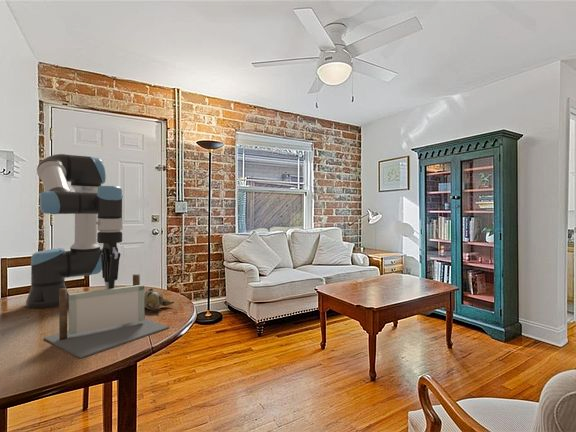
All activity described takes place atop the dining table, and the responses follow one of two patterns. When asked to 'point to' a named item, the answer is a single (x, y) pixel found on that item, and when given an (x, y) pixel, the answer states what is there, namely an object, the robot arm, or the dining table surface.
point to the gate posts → (64, 308)
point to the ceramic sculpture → (154, 300)
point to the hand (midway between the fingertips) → (109, 299)
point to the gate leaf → (105, 308)
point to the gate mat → (105, 337)
